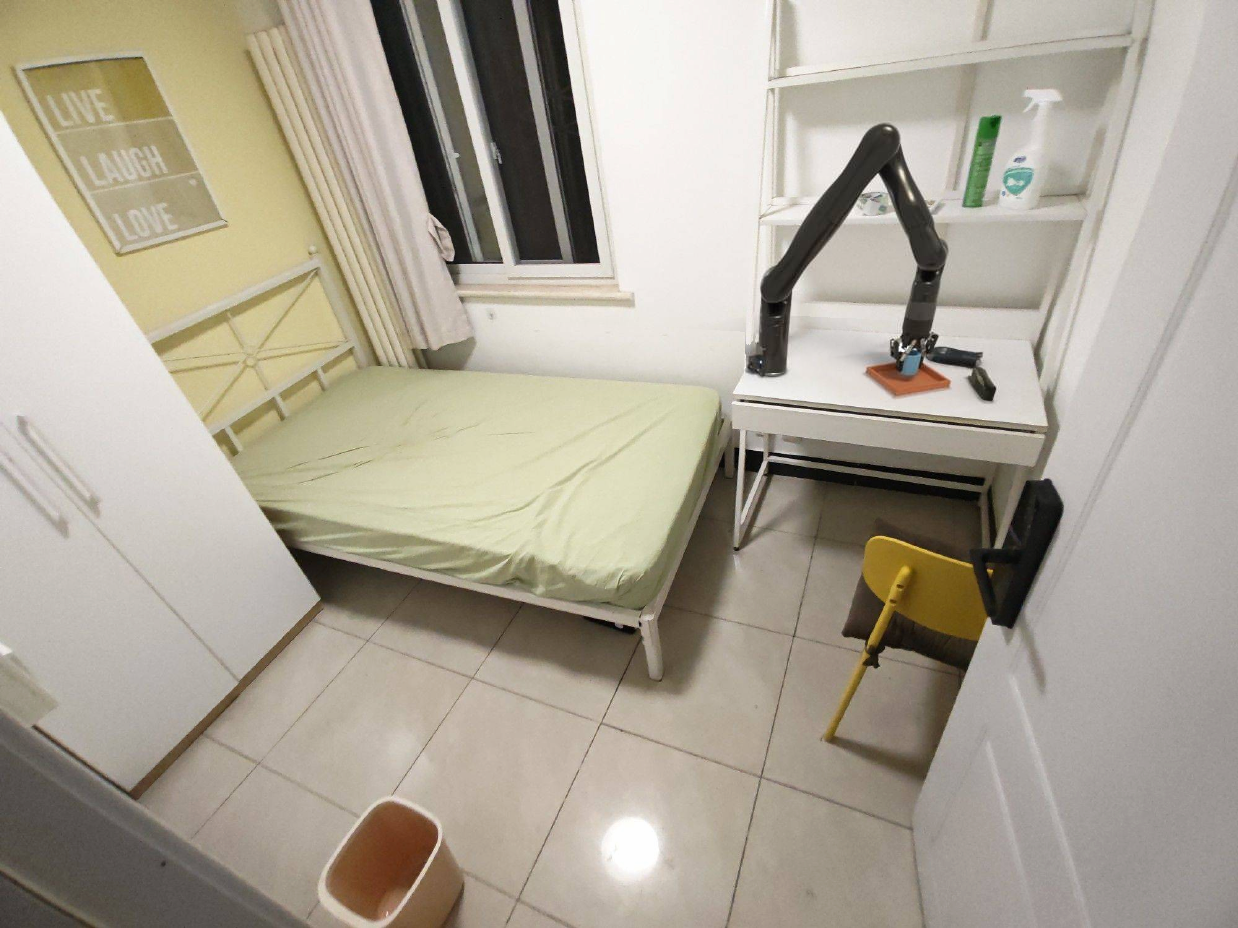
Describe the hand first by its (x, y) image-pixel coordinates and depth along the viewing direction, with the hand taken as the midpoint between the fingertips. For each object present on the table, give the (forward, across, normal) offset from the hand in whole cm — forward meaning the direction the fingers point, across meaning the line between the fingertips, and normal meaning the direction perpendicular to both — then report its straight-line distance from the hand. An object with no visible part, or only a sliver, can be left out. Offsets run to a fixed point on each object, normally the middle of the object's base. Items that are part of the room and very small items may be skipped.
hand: (907, 369), depth 167 cm
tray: (+4, 0, 0) cm, 4 cm away
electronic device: (+4, -20, -7) cm, 22 cm away
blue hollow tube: (+1, 0, 0) cm, 1 cm away
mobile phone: (+4, -15, +12) cm, 20 cm away
